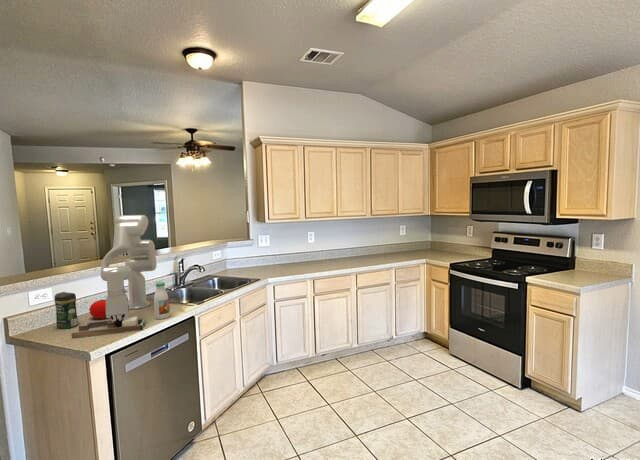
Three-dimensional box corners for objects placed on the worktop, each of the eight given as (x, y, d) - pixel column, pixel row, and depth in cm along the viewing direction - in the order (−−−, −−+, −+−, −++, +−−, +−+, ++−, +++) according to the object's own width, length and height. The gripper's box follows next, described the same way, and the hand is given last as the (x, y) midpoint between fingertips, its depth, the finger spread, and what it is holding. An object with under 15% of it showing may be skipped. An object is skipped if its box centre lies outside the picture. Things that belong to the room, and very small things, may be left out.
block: (125, 327, 184) (124, 318, 183) (138, 325, 186) (137, 316, 185) (122, 331, 178) (122, 321, 178) (135, 329, 180) (135, 320, 179)
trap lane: (82, 328, 184) (81, 323, 184) (146, 320, 193) (146, 316, 193) (71, 338, 170) (71, 333, 170) (142, 329, 179) (141, 325, 179)
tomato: (103, 321, 194) (102, 302, 193) (85, 320, 197) (83, 302, 196) (119, 314, 205) (117, 297, 204) (101, 313, 208) (100, 296, 207)
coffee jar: (53, 328, 185) (50, 293, 183) (69, 323, 192) (66, 290, 191) (66, 330, 182) (63, 295, 180) (81, 324, 189) (78, 291, 187)
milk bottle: (153, 320, 194) (151, 284, 192) (156, 315, 201) (153, 281, 200) (168, 318, 196) (166, 283, 194) (170, 314, 203) (168, 280, 202)
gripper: (133, 289, 185) (136, 323, 187) (101, 292, 180) (104, 327, 182) (130, 293, 178) (133, 328, 179) (97, 296, 173) (100, 332, 175)
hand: (118, 327), depth 181 cm, fingers closed
